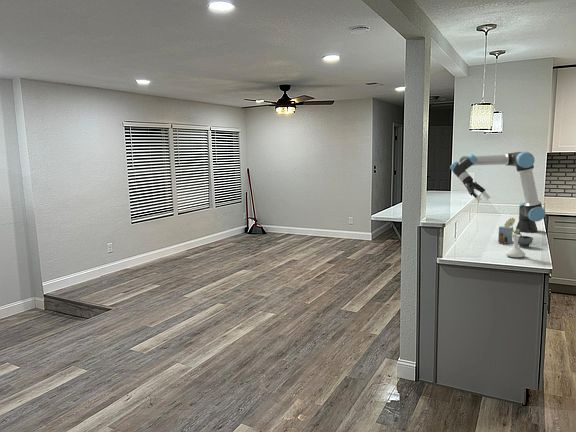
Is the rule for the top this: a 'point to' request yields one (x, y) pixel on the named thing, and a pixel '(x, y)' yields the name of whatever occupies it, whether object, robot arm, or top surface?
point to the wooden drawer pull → (502, 239)
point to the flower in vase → (515, 250)
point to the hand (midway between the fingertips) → (484, 199)
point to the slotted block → (506, 233)
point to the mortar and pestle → (524, 241)
